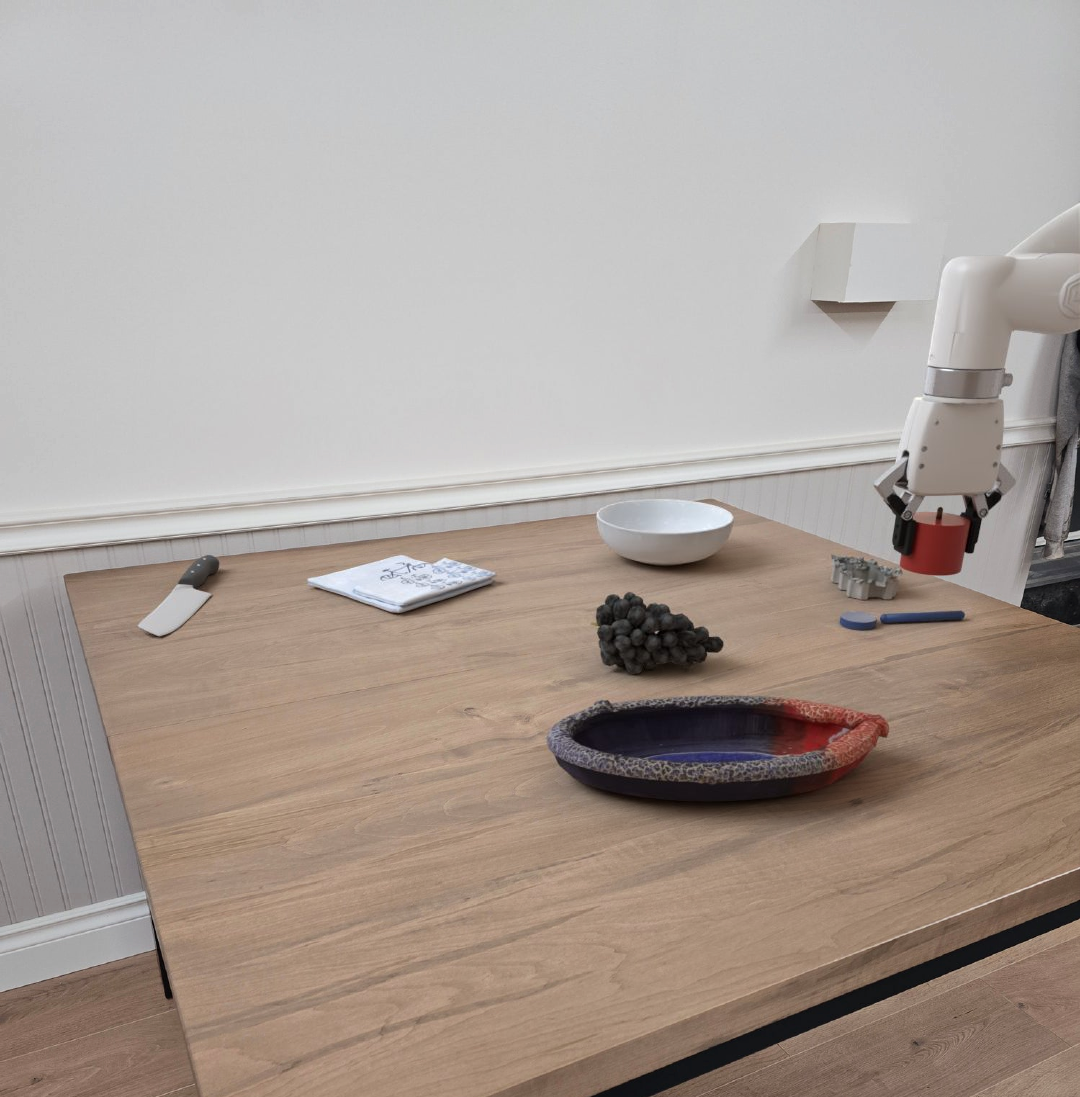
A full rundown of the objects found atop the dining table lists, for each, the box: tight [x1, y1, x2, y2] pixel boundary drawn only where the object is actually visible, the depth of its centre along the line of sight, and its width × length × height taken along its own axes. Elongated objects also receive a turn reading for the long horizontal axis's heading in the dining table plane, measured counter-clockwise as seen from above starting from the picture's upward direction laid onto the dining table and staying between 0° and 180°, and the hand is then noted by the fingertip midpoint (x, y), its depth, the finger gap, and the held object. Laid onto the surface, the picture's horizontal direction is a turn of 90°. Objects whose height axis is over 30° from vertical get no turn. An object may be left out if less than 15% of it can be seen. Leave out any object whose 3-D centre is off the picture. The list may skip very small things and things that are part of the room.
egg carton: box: [830, 554, 904, 601], centre depth 135 cm, size 11×8×4 cm
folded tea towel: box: [307, 554, 498, 614], centre depth 138 cm, size 19×20×2 cm
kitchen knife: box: [137, 554, 220, 637], centre depth 132 cm, size 29×3×5 cm
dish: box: [546, 694, 890, 802], centre depth 86 cm, size 16×31×5 cm, turn 92°
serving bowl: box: [595, 498, 735, 567], centre depth 149 cm, size 21×21×7 cm
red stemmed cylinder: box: [899, 506, 970, 577], centre depth 109 cm, size 7×7×7 cm
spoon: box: [839, 609, 966, 631], centre depth 122 cm, size 16×4×1 cm, turn 96°
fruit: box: [590, 591, 725, 675], centre depth 108 cm, size 9×8×15 cm
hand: (933, 550), depth 109 cm, fingers closed on red stemmed cylinder, 6 cm apart
